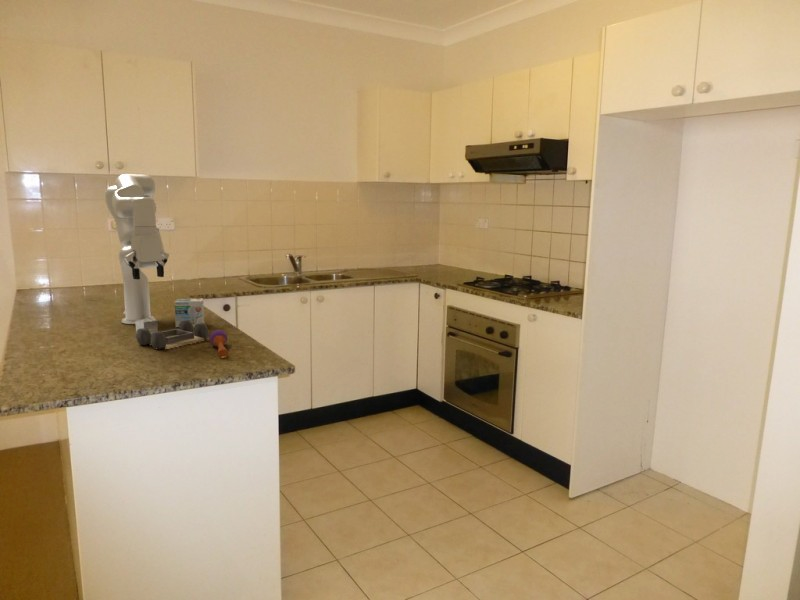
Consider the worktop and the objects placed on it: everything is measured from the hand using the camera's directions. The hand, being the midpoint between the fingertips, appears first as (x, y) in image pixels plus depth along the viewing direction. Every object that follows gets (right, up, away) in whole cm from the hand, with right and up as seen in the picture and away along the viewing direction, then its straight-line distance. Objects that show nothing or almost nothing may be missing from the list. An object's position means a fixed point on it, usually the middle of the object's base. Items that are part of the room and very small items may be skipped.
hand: (148, 278), depth 213 cm
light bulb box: (+8, -19, +20) cm, 29 cm away
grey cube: (-2, -22, +3) cm, 22 cm away
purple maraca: (+32, -26, -17) cm, 45 cm away
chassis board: (+11, -23, -6) cm, 27 cm away
